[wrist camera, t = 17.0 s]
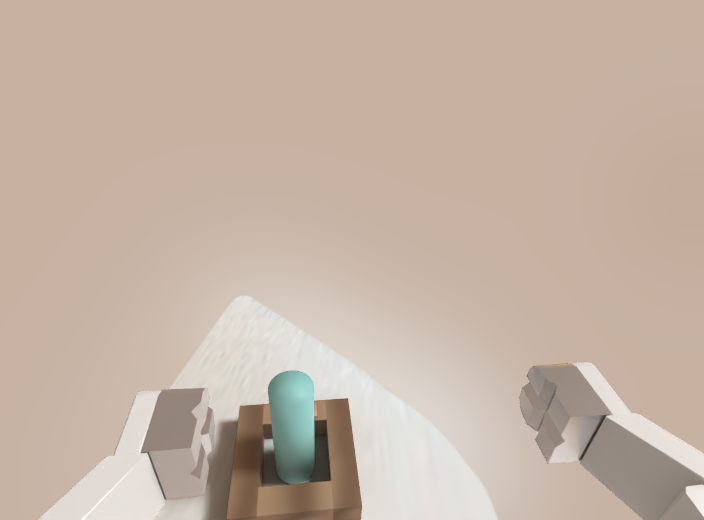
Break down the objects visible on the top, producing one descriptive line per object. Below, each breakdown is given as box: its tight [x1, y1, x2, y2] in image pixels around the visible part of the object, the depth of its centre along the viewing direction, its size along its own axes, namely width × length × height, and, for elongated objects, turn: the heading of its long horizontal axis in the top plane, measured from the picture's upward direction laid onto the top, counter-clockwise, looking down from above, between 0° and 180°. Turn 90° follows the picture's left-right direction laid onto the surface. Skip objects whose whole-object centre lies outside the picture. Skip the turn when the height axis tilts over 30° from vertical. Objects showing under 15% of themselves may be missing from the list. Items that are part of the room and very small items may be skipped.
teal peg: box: [268, 371, 315, 484], centre depth 42 cm, size 4×4×12 cm
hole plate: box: [226, 398, 362, 520], centre depth 44 cm, size 12×12×3 cm
